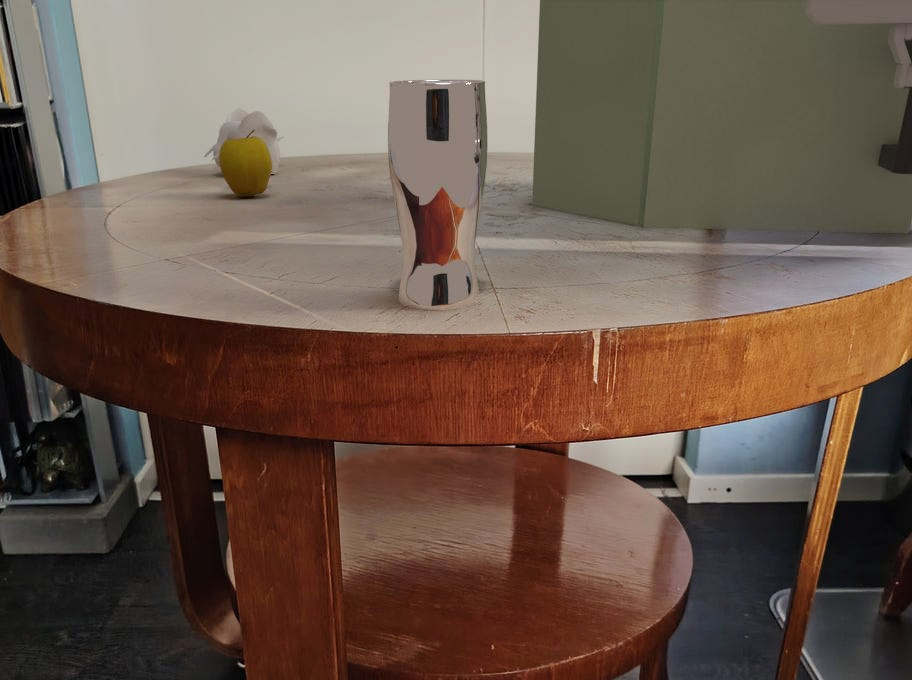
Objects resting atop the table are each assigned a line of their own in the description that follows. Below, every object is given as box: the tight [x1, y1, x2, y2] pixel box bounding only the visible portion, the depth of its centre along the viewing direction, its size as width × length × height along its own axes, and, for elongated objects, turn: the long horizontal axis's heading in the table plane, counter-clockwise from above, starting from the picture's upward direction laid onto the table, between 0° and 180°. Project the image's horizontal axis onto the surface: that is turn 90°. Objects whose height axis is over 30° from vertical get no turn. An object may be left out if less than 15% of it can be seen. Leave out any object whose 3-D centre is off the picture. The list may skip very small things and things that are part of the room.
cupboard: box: [531, 0, 665, 226], centre depth 95 cm, size 16×24×24 cm, turn 125°
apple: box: [219, 130, 272, 198], centre depth 113 cm, size 6×6×8 cm
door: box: [643, 0, 912, 234], centre depth 78 cm, size 7×24×24 cm, turn 79°
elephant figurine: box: [203, 108, 285, 175], centre depth 133 cm, size 10×12×9 cm
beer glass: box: [387, 79, 489, 312], centre depth 64 cm, size 7×7×15 cm
